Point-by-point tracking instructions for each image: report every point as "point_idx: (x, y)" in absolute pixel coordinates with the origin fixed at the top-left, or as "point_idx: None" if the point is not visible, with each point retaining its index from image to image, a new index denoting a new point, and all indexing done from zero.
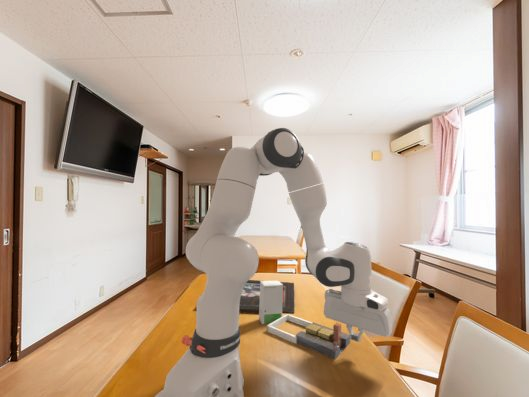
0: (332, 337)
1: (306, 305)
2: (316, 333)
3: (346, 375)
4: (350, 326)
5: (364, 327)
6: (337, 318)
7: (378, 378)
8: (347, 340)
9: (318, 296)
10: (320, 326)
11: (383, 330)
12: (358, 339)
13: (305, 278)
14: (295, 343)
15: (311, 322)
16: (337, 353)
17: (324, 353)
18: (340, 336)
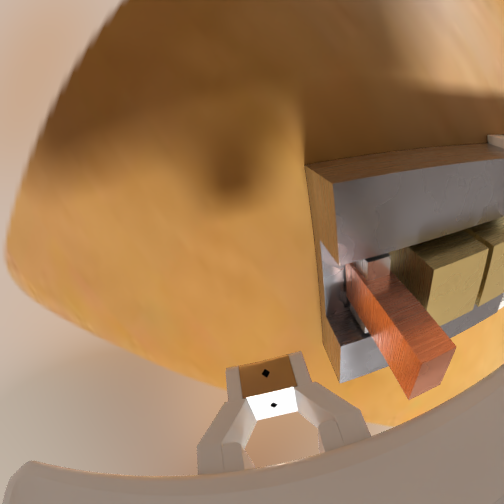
0: None
1: (495, 365)
2: (483, 243)
3: (186, 118)
4: (324, 441)
5: (163, 499)
6: (469, 418)
7: (83, 249)
8: (335, 349)
9: None
10: (482, 304)
11: (26, 497)
12: (232, 382)
13: None
14: (499, 137)
15: (498, 308)
16: (323, 210)
17: (383, 160)
18: (373, 331)
